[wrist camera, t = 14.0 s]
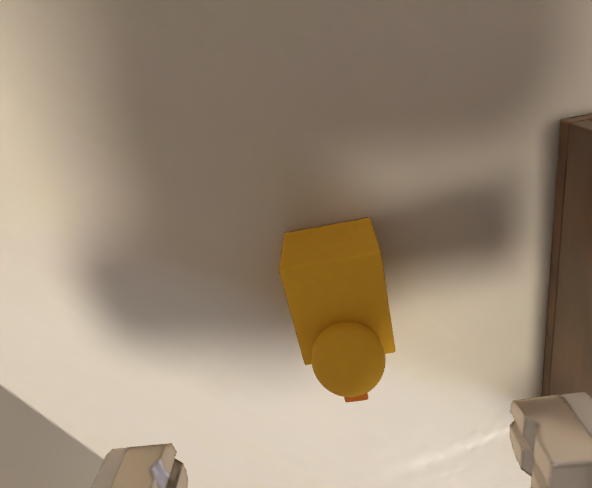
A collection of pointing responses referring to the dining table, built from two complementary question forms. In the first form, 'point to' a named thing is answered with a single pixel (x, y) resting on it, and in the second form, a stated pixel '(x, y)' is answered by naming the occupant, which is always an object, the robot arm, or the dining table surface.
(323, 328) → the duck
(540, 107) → the dining table surface
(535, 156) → the dining table surface
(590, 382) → the chest
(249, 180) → the dining table surface
